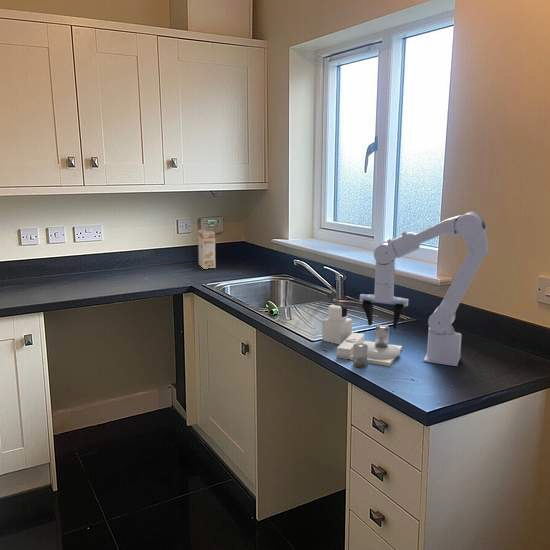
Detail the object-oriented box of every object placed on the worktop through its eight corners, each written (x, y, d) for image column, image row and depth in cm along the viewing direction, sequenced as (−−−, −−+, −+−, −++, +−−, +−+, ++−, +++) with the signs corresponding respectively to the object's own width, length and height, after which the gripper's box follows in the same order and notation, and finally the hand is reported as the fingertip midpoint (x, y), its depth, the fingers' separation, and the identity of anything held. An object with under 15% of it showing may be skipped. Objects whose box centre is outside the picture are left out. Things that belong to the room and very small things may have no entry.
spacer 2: (390, 345, 173) (391, 327, 172) (382, 348, 170) (383, 329, 169) (380, 342, 176) (381, 324, 175) (372, 345, 173) (373, 326, 172)
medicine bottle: (333, 335, 188) (334, 300, 185) (352, 339, 183) (353, 304, 181) (321, 340, 182) (322, 305, 180) (340, 345, 178) (341, 309, 175)
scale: (405, 349, 174) (405, 338, 174) (393, 366, 160) (394, 355, 159) (352, 341, 181) (352, 331, 181) (336, 357, 167) (337, 346, 166)
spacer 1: (368, 364, 162) (369, 344, 161) (364, 368, 159) (365, 348, 157) (355, 362, 164) (355, 342, 163) (351, 366, 160) (351, 346, 159)
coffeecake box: (216, 269, 294) (215, 232, 290) (202, 270, 292) (201, 233, 288) (211, 264, 308) (210, 229, 304) (198, 264, 306) (197, 229, 302)
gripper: (411, 282, 170) (409, 325, 172) (364, 278, 175) (363, 319, 178) (406, 287, 163) (404, 331, 166) (358, 282, 169) (356, 325, 172)
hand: (382, 326), depth 172 cm, fingers open, 7 cm apart
